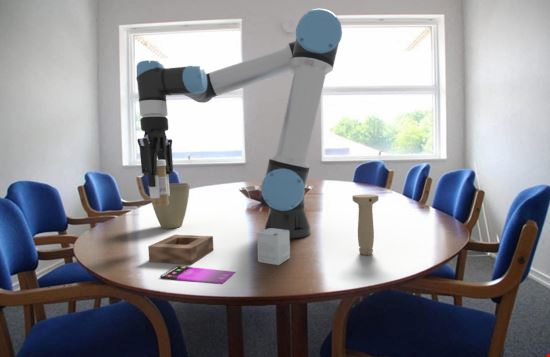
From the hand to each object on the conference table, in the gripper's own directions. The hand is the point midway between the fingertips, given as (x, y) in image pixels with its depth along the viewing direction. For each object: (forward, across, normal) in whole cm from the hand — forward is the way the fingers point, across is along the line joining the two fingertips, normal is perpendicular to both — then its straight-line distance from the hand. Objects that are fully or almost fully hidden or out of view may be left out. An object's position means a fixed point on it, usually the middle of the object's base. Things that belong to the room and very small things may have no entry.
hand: (160, 196), depth 98 cm
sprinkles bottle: (+3, 0, 0) cm, 3 cm away
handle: (+16, -2, +58) cm, 60 cm away
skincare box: (+16, +7, +36) cm, 40 cm away
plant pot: (+15, -24, -13) cm, 31 cm away
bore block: (+15, +8, +11) cm, 20 cm away
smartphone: (+16, +20, +22) cm, 34 cm away
